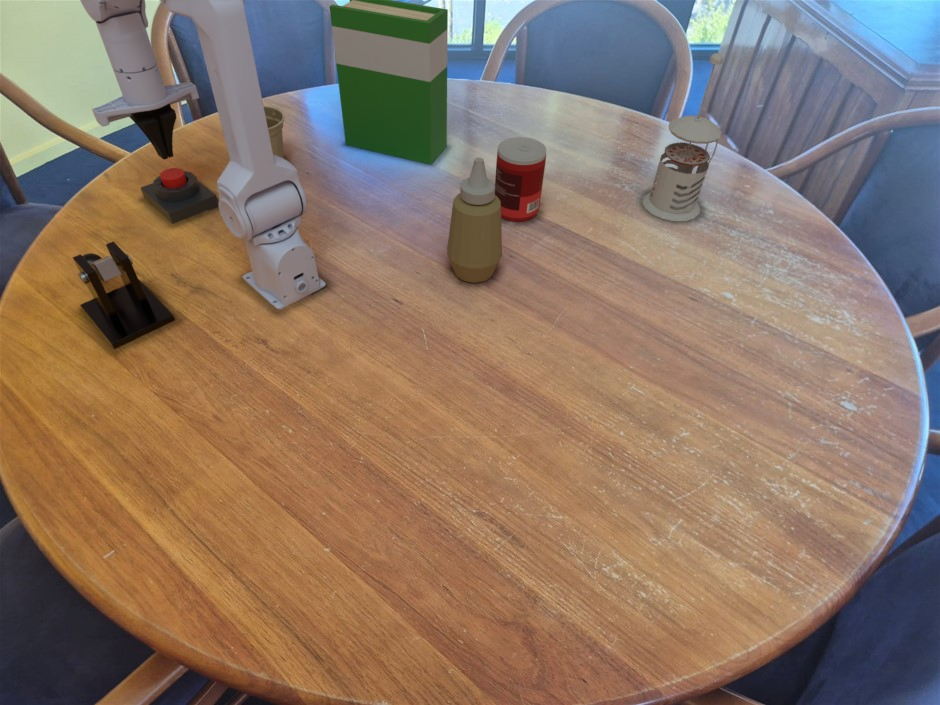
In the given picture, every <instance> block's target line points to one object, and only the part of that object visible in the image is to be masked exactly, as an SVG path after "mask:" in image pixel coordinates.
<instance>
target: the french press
mask: <svg viewBox="0 0 940 705" xmlns="http://www.w3.org/2000/svg"><path fill="white" fill-rule="evenodd" d="M723 60H724V57H723V55H722V54H721V53H717V52H715V53H713V54H711V55H710V56H709V60H708V63H710V64H712V69H711V72H710V75H709V78H708V83H707V85H706V88H705V92H704V95H703V97H702V101H701V105H700V108H699V111H698V113H697V114H698V115H692V114H691V115H685V116H681V117H676V118H673V119H672V120H671V121H669V123H668V130H669V131H670V134H671V135H672V136H674V137H675V138H677V139H678V140H681V141H682V142H673V143H670V144H668V145H666V146H665V148H664V152H663V153H662V154H661V155H660V157H659V162H658V165H657V169H656V173H655V176H654V180H653V182H652V188H651V191H649V192H648V193H647V194H644V196H643V198H642V201H641V203H642V205H643V207H644V209H645V210H646V211H647V212H649V213H650V215H653V216H655V217H657V218H660V219H662V220H667V221H671V222H687V221H690V220H694V219H695V218H697V217H698V216H699V215H700V211H701V207H700V205H699V203H698V200H699V196H700V193H701V190H702V187H703V183H704V181H705V179H706V175H707V172H708V170H709V166H710V164H711V161H712V160H713V158H714V156H715V154H716V151H717V148H718V144H719V143H718V142H719V141H718V140H719V139H720V138H721V136H722V131H721V129H720V127H719V126H718V125H717V124H716V123H715V122H712V121H711V120H709V119H708V118H706V117H703V116H701V112H702V108H703V106H704V103H705V99H706V96H707V92H708V89H709V86H710V83H711V80H712V77H713V73H714V71H715V67H716V65H722V64H723ZM683 141H684V142H683ZM714 142H715V147H714V149H713V151H712V154H711V155H710V153H709V152H708V148H709V144H711V143H714ZM698 144H699V145H705V148H704V147H701V146H699V145H698ZM665 159H667V160H665ZM663 160H665V161H663ZM667 164H668V165H674V166H676V167H677V168H675V167H672V166H666V165H667ZM696 167H697V169H696V171H695V173H693V170H694V169H695V168H696ZM689 186H691V187H690V188H688V187H689Z"/></svg>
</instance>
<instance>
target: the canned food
mask: <svg viewBox="0 0 940 705" xmlns="http://www.w3.org/2000/svg"><path fill="white" fill-rule="evenodd" d="M496 152H497V153H496V164H495V177H494V178H495V180H494V184H495V195H496V196H497V197H498V198H499V200H500V202H501V219H503V220H505V221H509V222H517V223H520V222H526V221H529V220H531V219H534V217H536V215H537V214H538V212H539V209H540V205H541V199H542V190H543V184H544V177H545V170H546V161H547V147H546V145H544V143H542V142H541V141H539V140H538V139H535V138H531V137H527V136H515V137H514V136H513V137H509V138H506V139H504V140H502V141H501V142H500V143H499V144H498V147H497V151H496Z"/></svg>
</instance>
